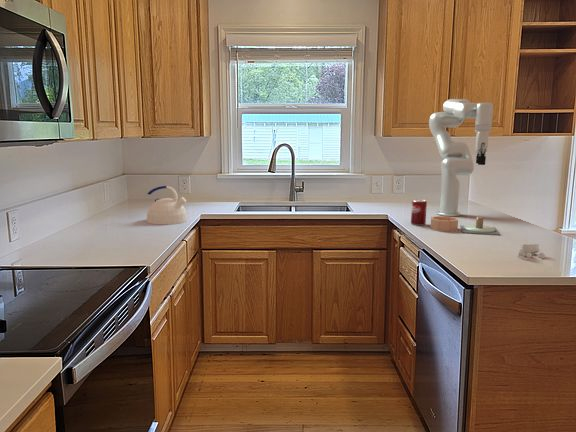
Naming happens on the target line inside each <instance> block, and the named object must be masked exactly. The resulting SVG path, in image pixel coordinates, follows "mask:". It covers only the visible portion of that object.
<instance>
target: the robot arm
mask: <svg viewBox="0 0 576 432" xmlns="http://www.w3.org/2000/svg"><path fill="white" fill-rule="evenodd" d="M442 109H443V111H439V112H438V111H437V112H434V113H432V114H431V115H430V117H429V119H428V127H429V130H430V133H431V135H432V136H433V138H434V140H435V143H436V144H435V145H436V147H437V150H438V154H439V155H440V157H441V158H442V159H443V160H442V161H441V162H440V171H441V172H440V173H441V187H440V189H441V190H440V201H439V202H440V203H439V205H440V206H439V210H438V211H436V214H437V216H447V217H460V216H461V212H459V211H458V210H459V198H460V197H459V196H460V180H459V179H458V177H457V176H468V175H472V173H473V172H474V168H475V165H474V161H473V158H472V155H471V151H470V149H469V145H467V143H466V142H463V141H453V139H452V136H451V134H450V133H449V131H447V130H446V129H445V128H457V127H459V126H461V125H462V123H463V122H464V121H465V120H466V119H475V122H474V123H475V124H474V132H475V133H476V134H475V135H476V136H475V143H474V144H475V145H474V152H475V153H476V159H475V163H476V164H477V165H478V166H485V165H486V161H487V159H486V158H487V157H486V152H488V145H489V133H491V132H492V126H493V115H494V114H493V111H494V104H493V103H492V102H470V100H468V99H466V98H450V99H447V100H446V101H445V102H444V103H443V105H442Z"/></svg>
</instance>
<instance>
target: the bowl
mask: <svg viewBox="0 0 576 432" xmlns="http://www.w3.org/2000/svg"><path fill="white" fill-rule="evenodd" d="M458 223H459V219H458V218H457V217H455V216H442V215H437V216H430V227H431V228H430V227H429V228H430V230H433V231H437V232H456V231H458V227H459V224H458Z"/></svg>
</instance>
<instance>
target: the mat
mask: <svg viewBox="0 0 576 432" xmlns="http://www.w3.org/2000/svg"><path fill="white" fill-rule="evenodd" d="M464 226H465V225H461V224H460V225H459V228H460V230H461V233H462V234H468V235H469V234H472V235H473V234H474V235H488V236H489V235H490V236H500V235H501V234H500V232H499V231H498V229H497V227H495V226H492V227H493V228H495V232H489V233H481V232H472V231H467V230H465V229H463V228H464Z"/></svg>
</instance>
